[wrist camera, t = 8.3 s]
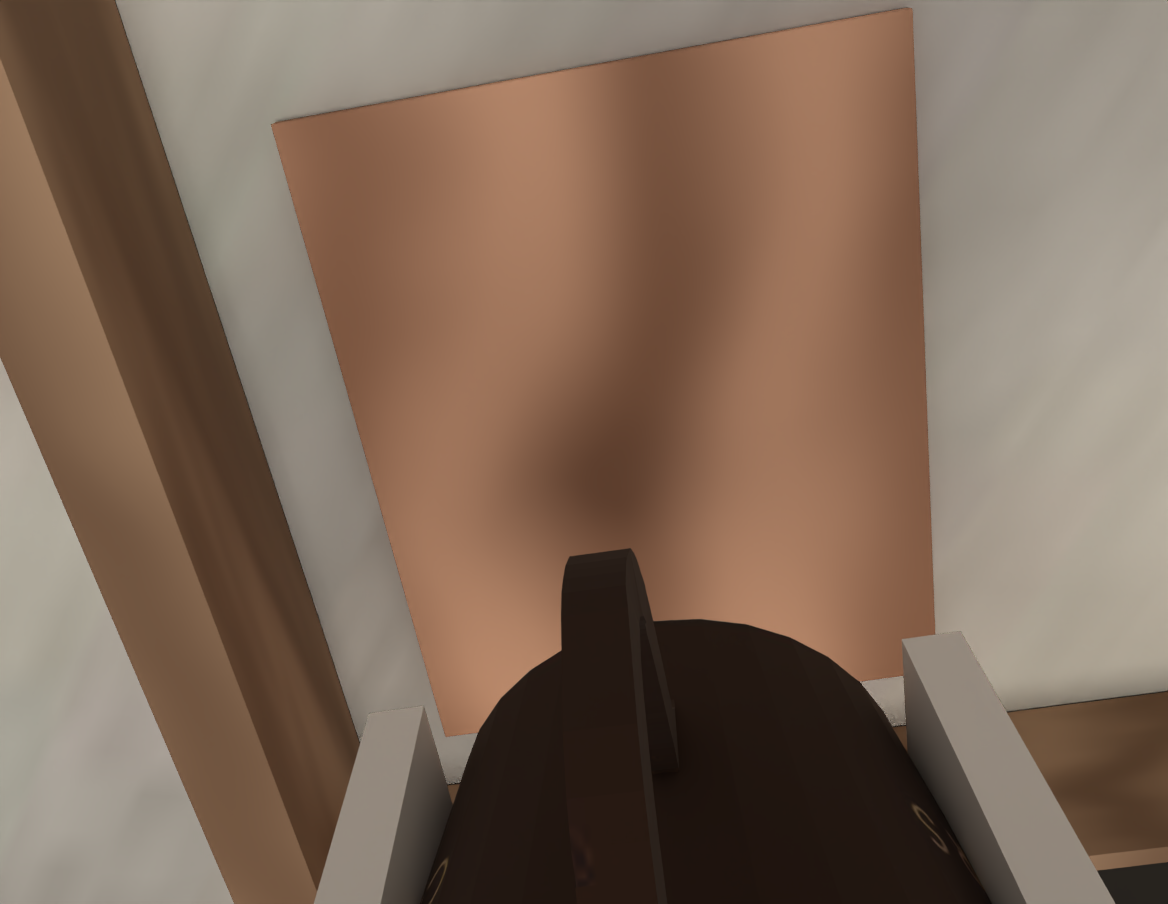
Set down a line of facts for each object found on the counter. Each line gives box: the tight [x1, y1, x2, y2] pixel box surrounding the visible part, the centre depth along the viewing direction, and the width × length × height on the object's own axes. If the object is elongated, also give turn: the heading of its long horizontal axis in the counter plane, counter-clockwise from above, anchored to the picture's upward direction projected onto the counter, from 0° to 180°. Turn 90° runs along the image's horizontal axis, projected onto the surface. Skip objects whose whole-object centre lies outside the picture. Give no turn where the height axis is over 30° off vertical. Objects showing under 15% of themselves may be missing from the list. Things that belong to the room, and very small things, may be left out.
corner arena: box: [0, 0, 1168, 904], centre depth 22 cm, size 27×24×5 cm
